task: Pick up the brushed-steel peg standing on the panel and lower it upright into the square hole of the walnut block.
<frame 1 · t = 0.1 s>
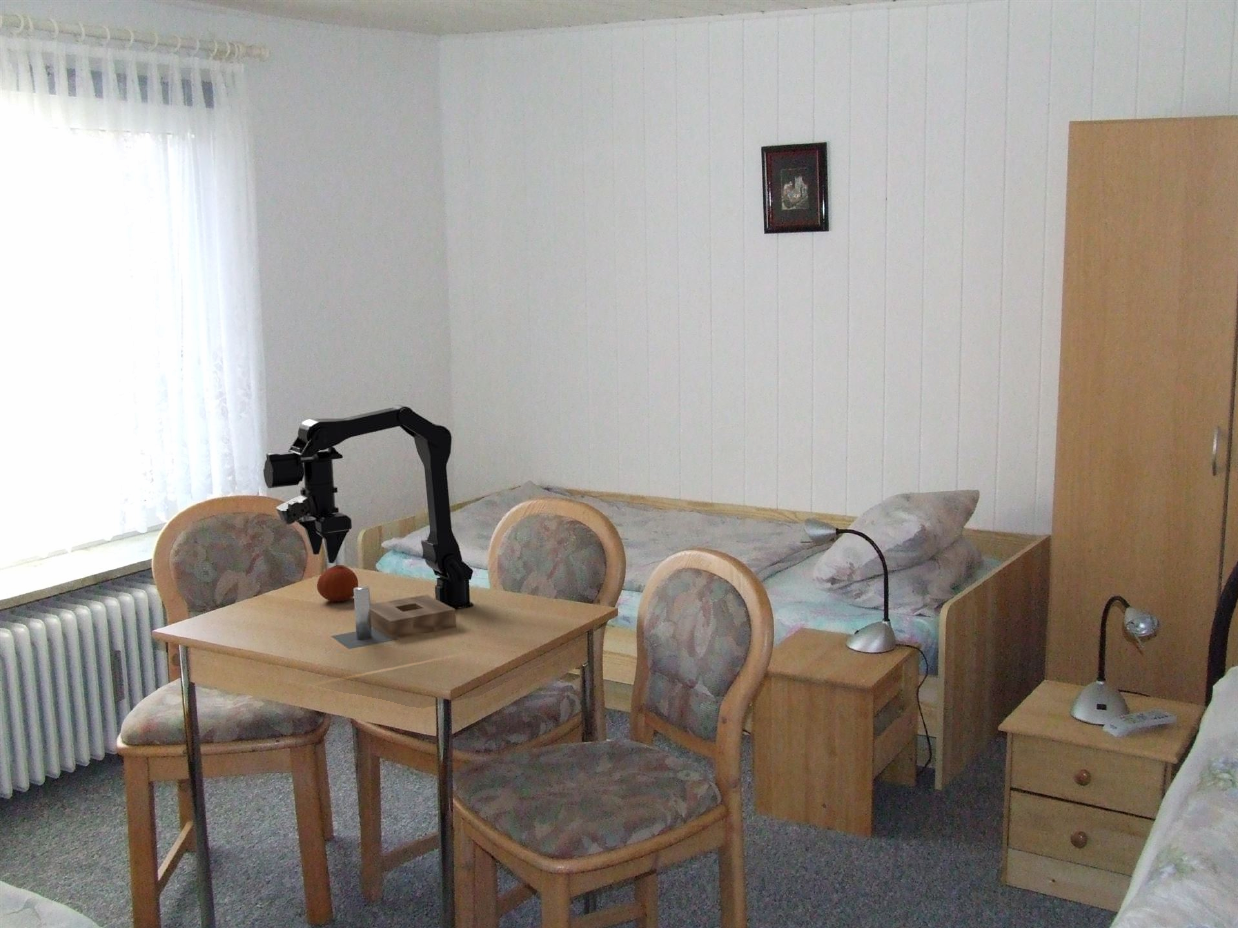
hand: (323, 558, 252), 15 cm above the table, tool pointing down, fingers open, 9 cm apart
panel: (364, 639, 246), on the table
fruit: (338, 601, 275), on the table
peg: (364, 637, 246), resting on panel
hole block: (410, 626, 254), on the table
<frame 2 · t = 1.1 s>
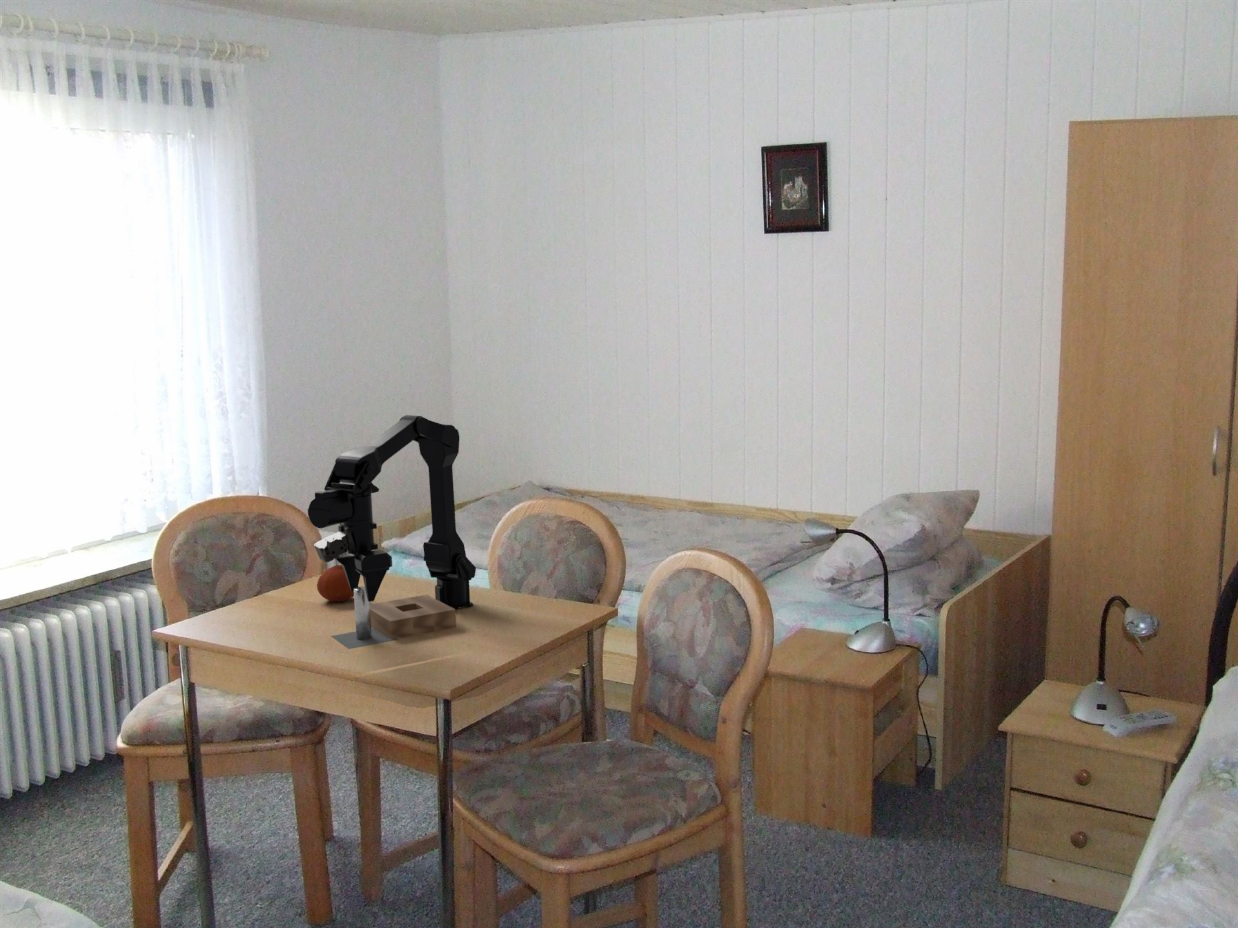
hand: (362, 596, 245), 9 cm above the table, tool pointing down, fingers open, 9 cm apart
nothing on the table moved.
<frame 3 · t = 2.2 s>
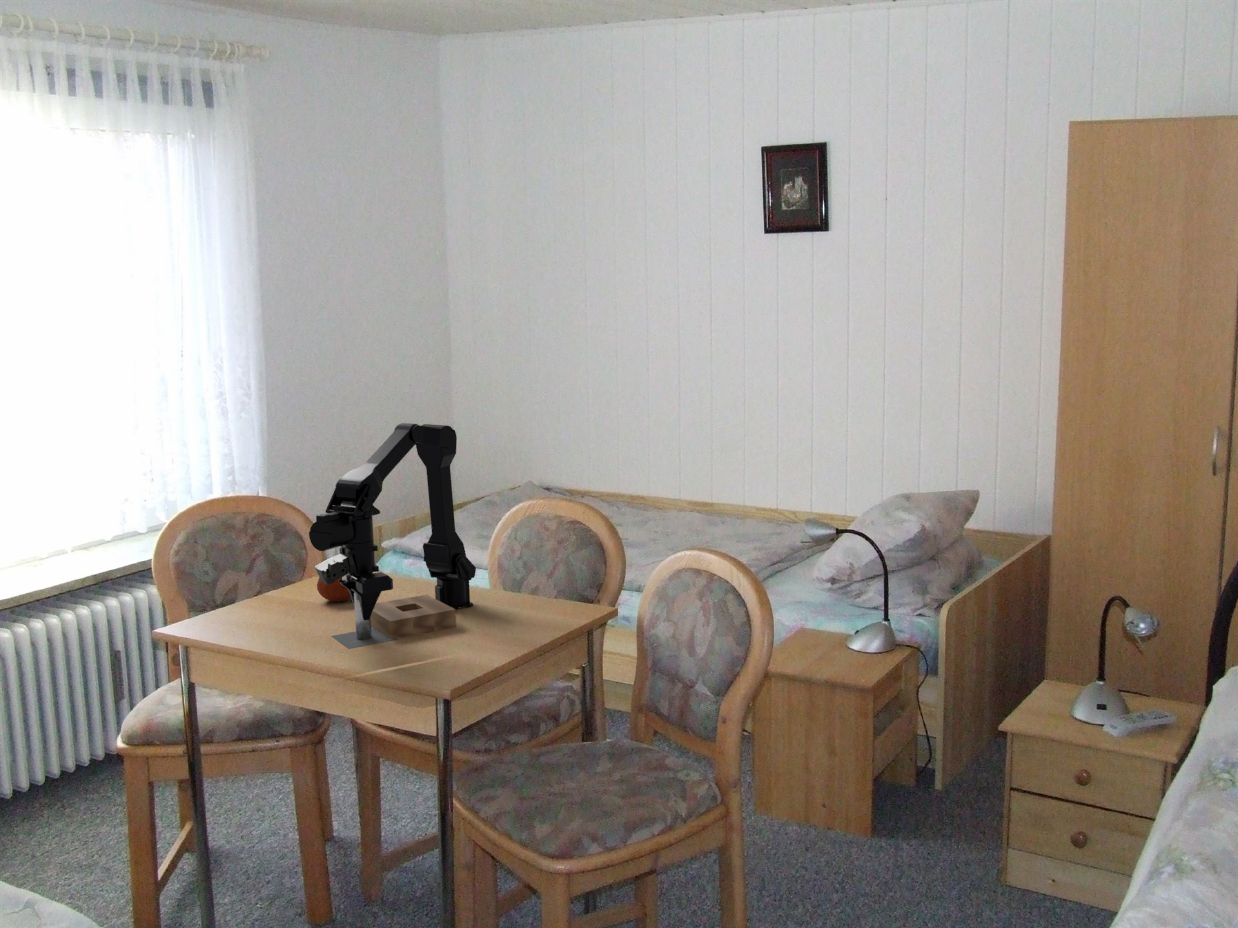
hand: (363, 617, 245), 4 cm above the table, tool pointing down, fingers closed on peg, 3 cm apart
peg: (364, 637, 246), resting on panel, touching gripper
everything else where it was.
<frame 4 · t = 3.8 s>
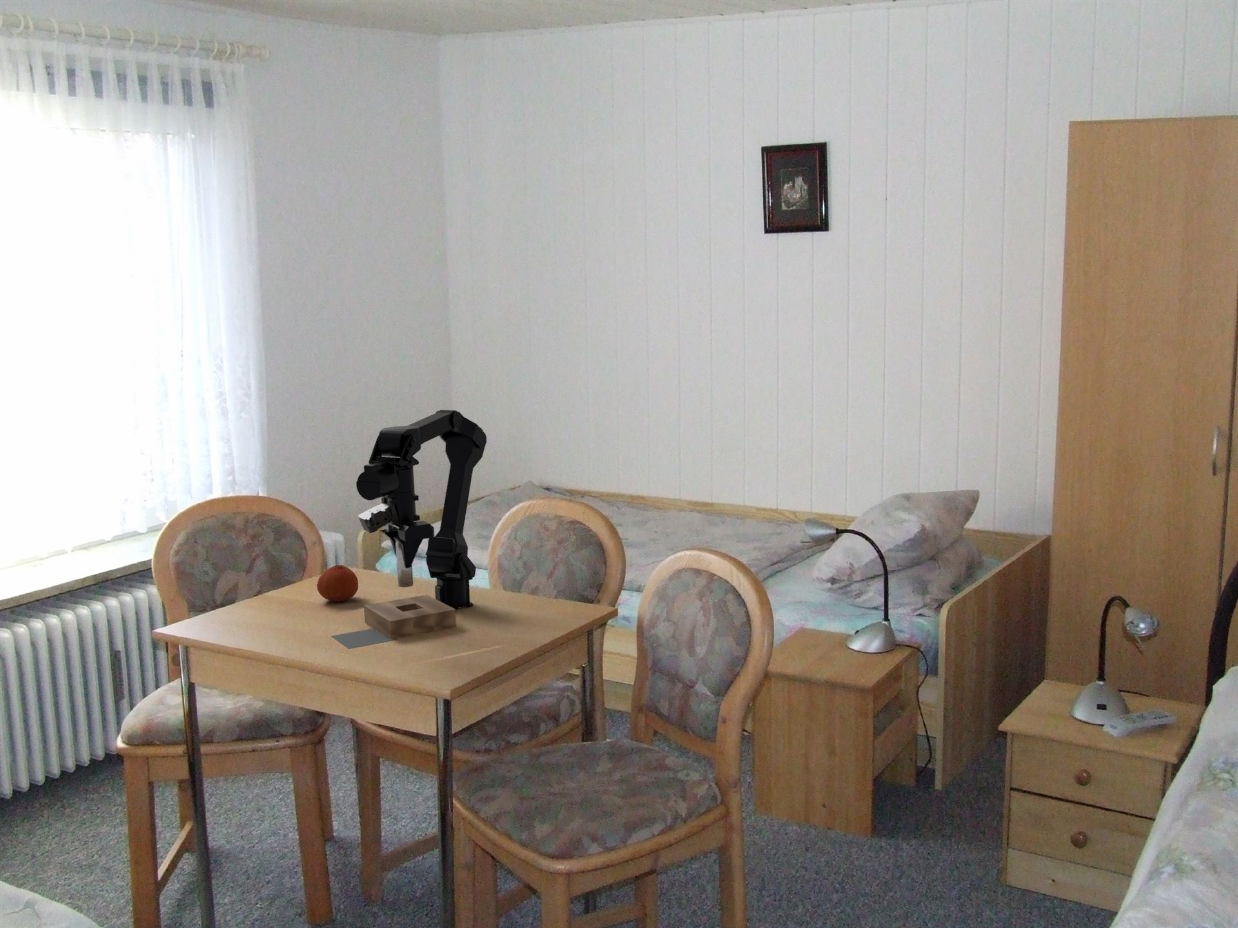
hand: (404, 566, 252), 13 cm above the table, tool pointing down, fingers closed on peg, 3 cm apart
peg: (405, 585, 253), point 9 cm above the table, touching gripper
everything else where it was.
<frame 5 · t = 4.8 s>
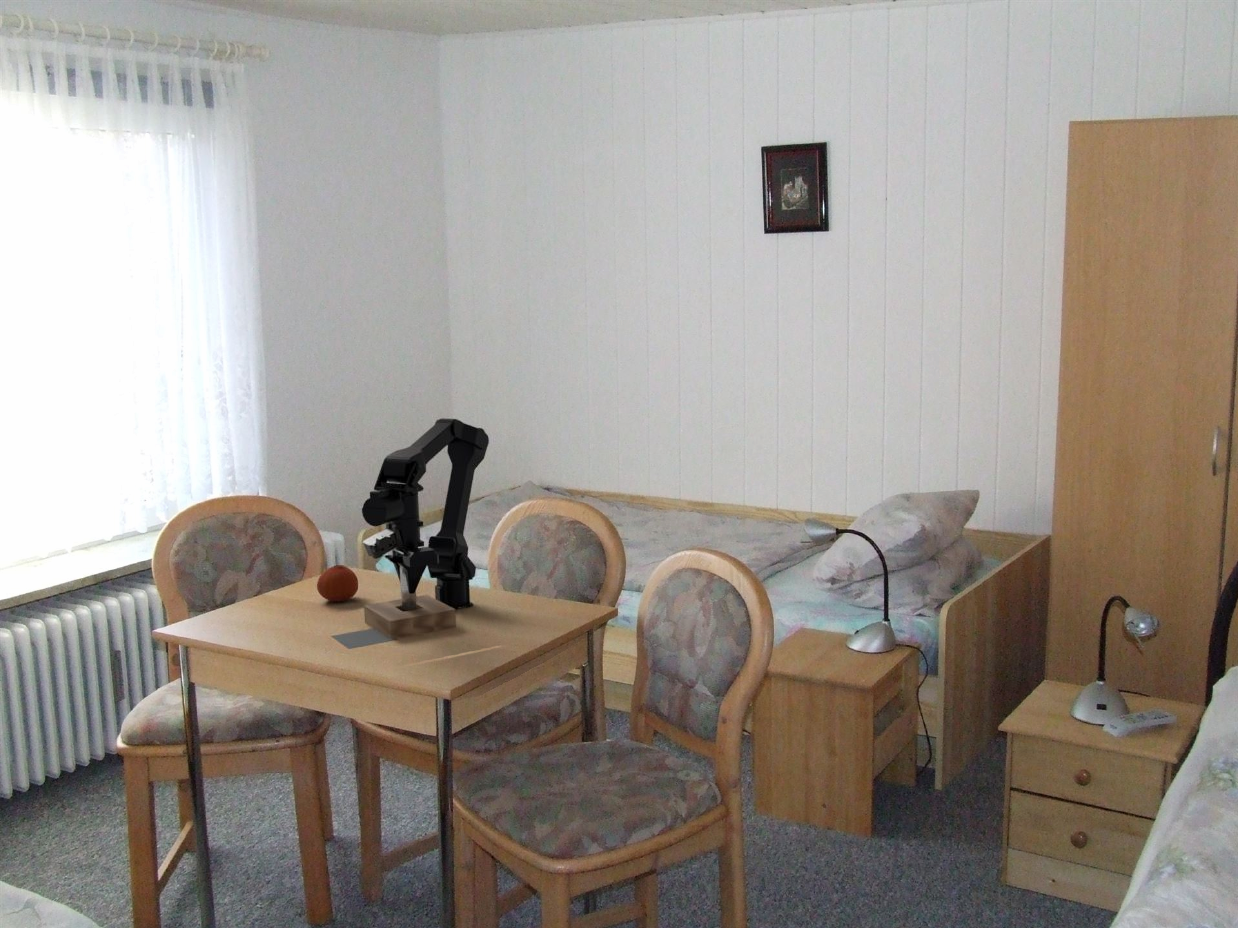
hand: (408, 591, 253), 7 cm above the table, tool pointing down, fingers closed on peg, 3 cm apart
peg: (409, 610, 254), point 3 cm above the table, touching gripper
everything else where it was.
when the fingers open (4 cm above the table, at t = 5.6 s): peg stays where it is, resting in hole block.
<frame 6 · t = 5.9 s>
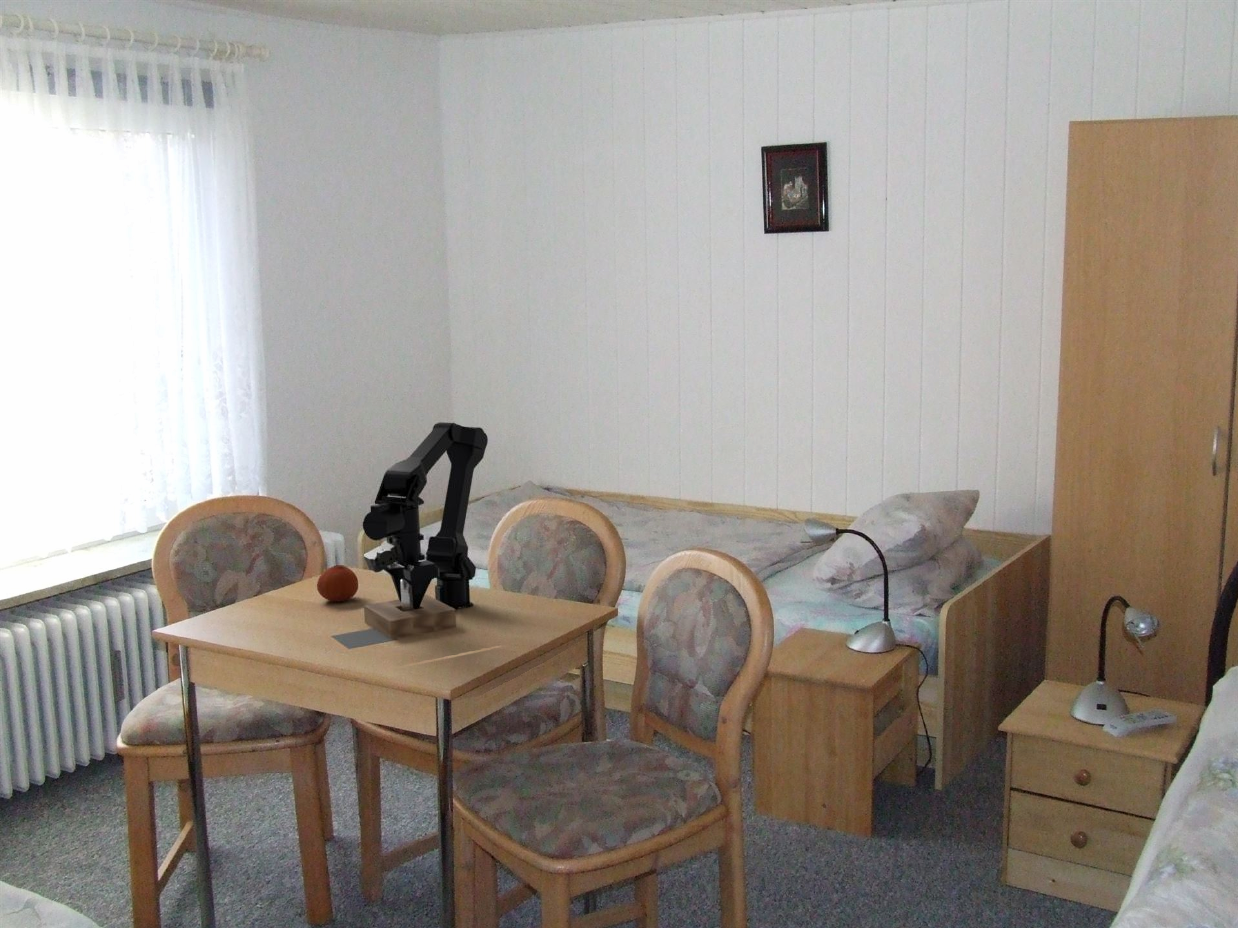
hand: (409, 604, 254), 4 cm above the table, tool pointing down, fingers open, 7 cm apart
peg: (410, 626, 255), resting in hole block
everything else where it was.
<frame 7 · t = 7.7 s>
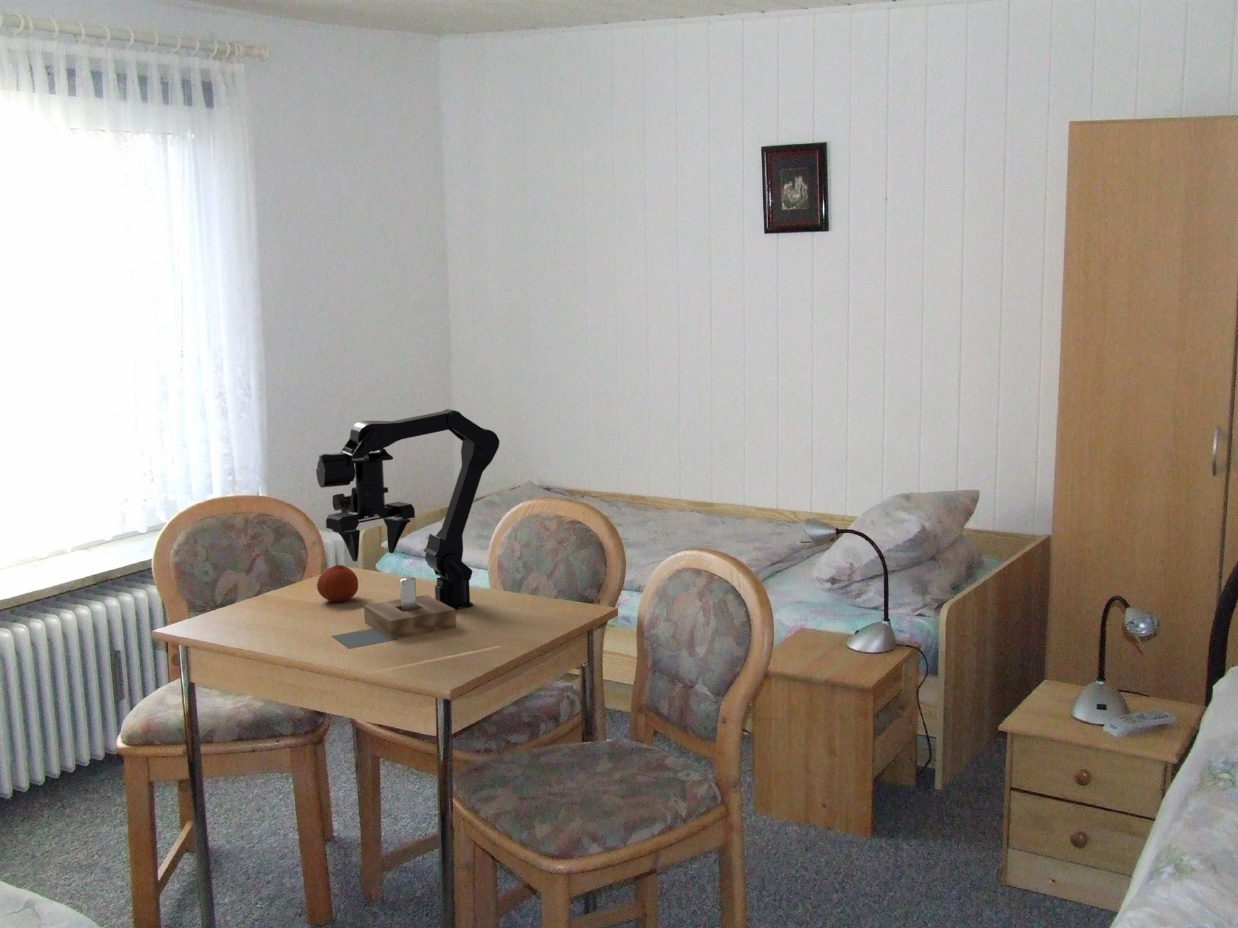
hand: (373, 556, 259), 13 cm above the table, tool pointing down, fingers open, 9 cm apart
nothing on the table moved.
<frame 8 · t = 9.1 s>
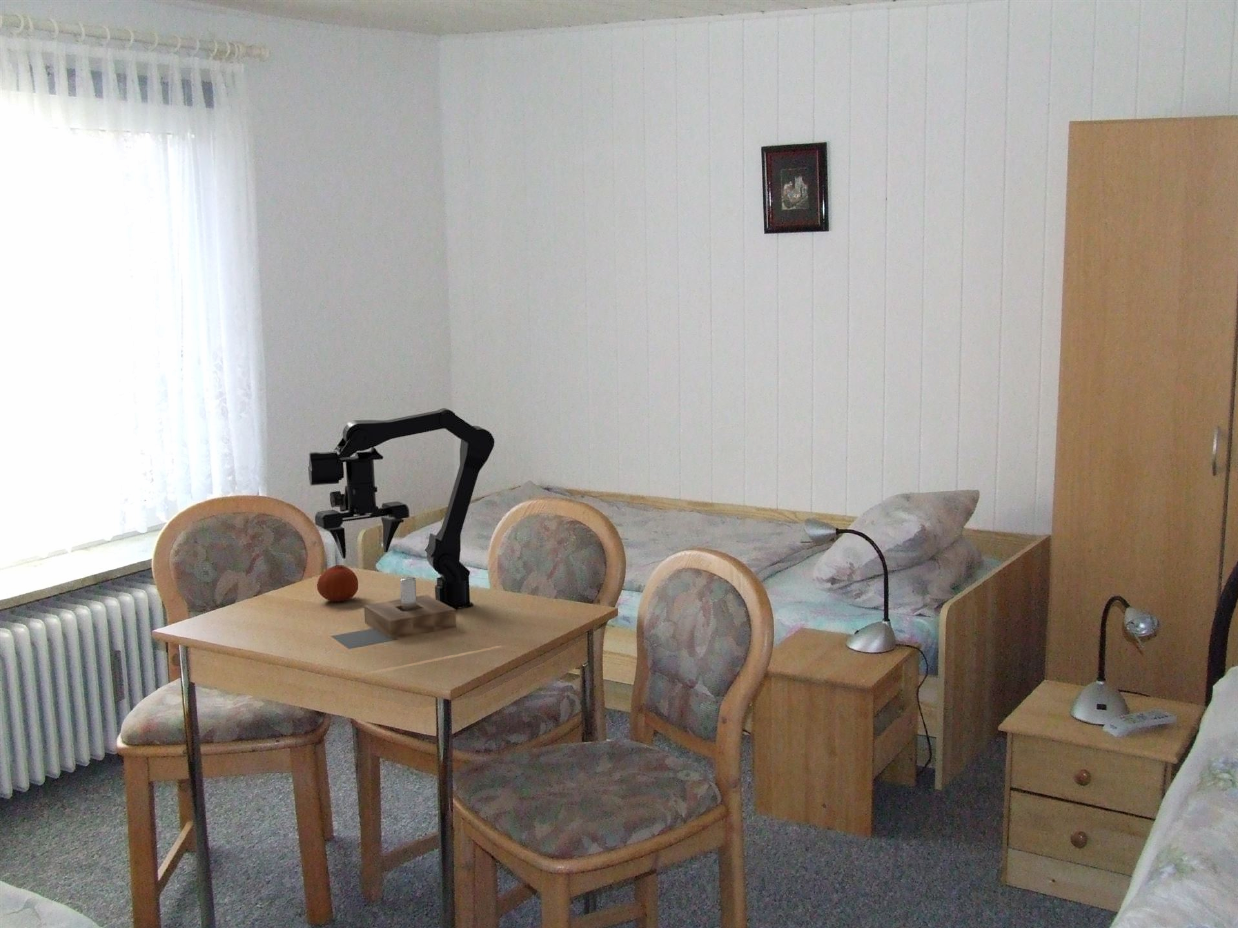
hand: (364, 555, 261), 13 cm above the table, tool pointing down, fingers open, 9 cm apart
nothing on the table moved.
at the end: peg 0.0 cm off-centre on the hole block, point 0.0 cm above the hole block's base; peg tilted 0°; the gripper is holding nothing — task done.
